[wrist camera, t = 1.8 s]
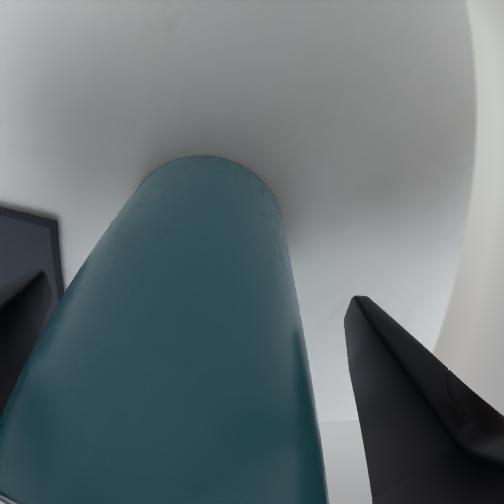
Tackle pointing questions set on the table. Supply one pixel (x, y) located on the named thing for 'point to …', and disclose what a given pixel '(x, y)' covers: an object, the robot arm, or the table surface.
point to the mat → (29, 250)
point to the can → (172, 359)
